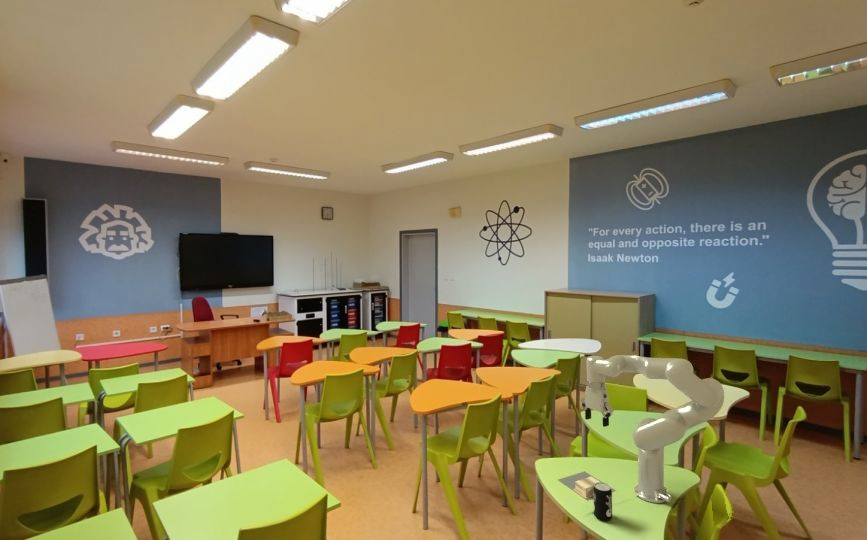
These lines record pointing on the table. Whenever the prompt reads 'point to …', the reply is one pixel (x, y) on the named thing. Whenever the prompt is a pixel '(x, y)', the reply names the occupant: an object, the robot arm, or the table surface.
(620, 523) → the table surface
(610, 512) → the beverage can
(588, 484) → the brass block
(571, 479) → the rubber mat
